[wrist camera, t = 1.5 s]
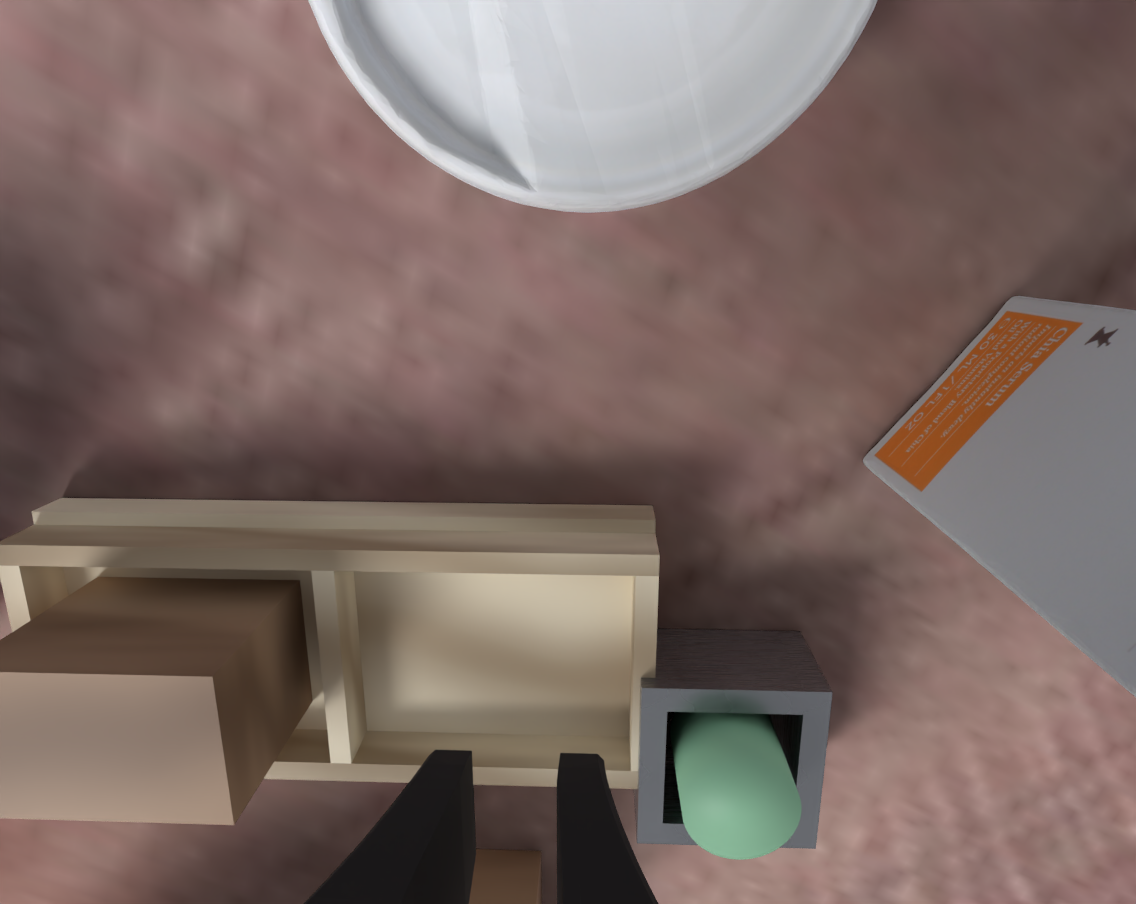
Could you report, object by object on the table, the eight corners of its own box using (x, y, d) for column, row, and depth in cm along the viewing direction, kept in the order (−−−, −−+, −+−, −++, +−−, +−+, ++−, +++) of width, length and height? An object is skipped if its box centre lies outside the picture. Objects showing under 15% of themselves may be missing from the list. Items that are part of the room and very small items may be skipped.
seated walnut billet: (312, 701, 22) (233, 824, 17) (120, 696, 22) (-11, 817, 18) (299, 580, 21) (212, 676, 16) (97, 576, 21) (-47, 671, 17)
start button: (768, 775, 22) (796, 861, 19) (668, 772, 22) (679, 857, 19) (776, 687, 21) (806, 762, 18) (671, 685, 21) (684, 759, 18)
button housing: (787, 771, 24) (815, 848, 21) (631, 766, 24) (637, 843, 21) (799, 631, 22) (832, 692, 19) (635, 628, 23) (641, 688, 19)
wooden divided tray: (645, 740, 24) (651, 801, 21) (105, 727, 24) (45, 784, 22) (652, 505, 21) (660, 540, 19) (61, 498, 22) (-11, 530, 20)
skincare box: (1007, 288, 20) (1599, 343, 8) (1119, 385, 20) (1826, 565, 9) (849, 462, 21) (1158, 722, 9) (958, 548, 21) (1377, 891, 10)
